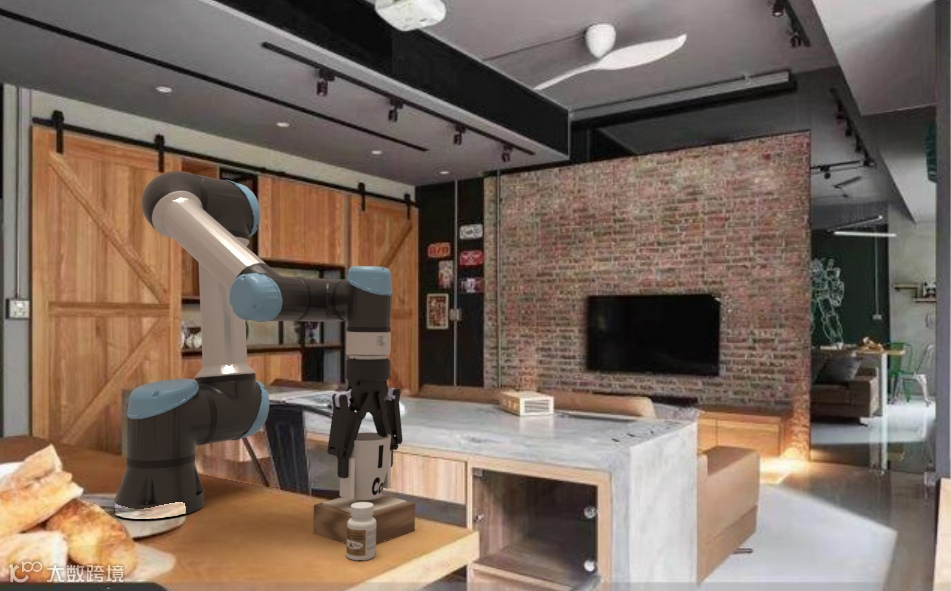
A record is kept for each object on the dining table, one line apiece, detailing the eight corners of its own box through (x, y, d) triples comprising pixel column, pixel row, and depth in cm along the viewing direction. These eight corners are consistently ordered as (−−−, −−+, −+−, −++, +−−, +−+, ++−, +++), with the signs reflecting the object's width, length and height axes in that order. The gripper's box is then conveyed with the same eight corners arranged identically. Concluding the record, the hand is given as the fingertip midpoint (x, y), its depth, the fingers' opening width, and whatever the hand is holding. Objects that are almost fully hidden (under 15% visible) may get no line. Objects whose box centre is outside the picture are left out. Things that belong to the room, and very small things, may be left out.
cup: (380, 504, 107) (381, 442, 107) (333, 500, 109) (334, 439, 109) (396, 491, 115) (397, 433, 115) (352, 488, 116) (353, 431, 117)
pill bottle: (340, 557, 100) (341, 505, 100) (359, 548, 103) (360, 499, 104) (362, 563, 97) (363, 510, 98) (381, 554, 101) (382, 503, 101)
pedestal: (313, 532, 111) (314, 502, 111) (366, 516, 120) (367, 488, 120) (361, 549, 103) (362, 517, 103) (414, 530, 113) (415, 500, 113)
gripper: (336, 360, 102) (332, 509, 101) (425, 355, 118) (422, 484, 118) (305, 358, 107) (302, 500, 106) (395, 353, 123) (393, 477, 122)
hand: (365, 491), depth 112 cm, fingers closed on cup, 8 cm apart
